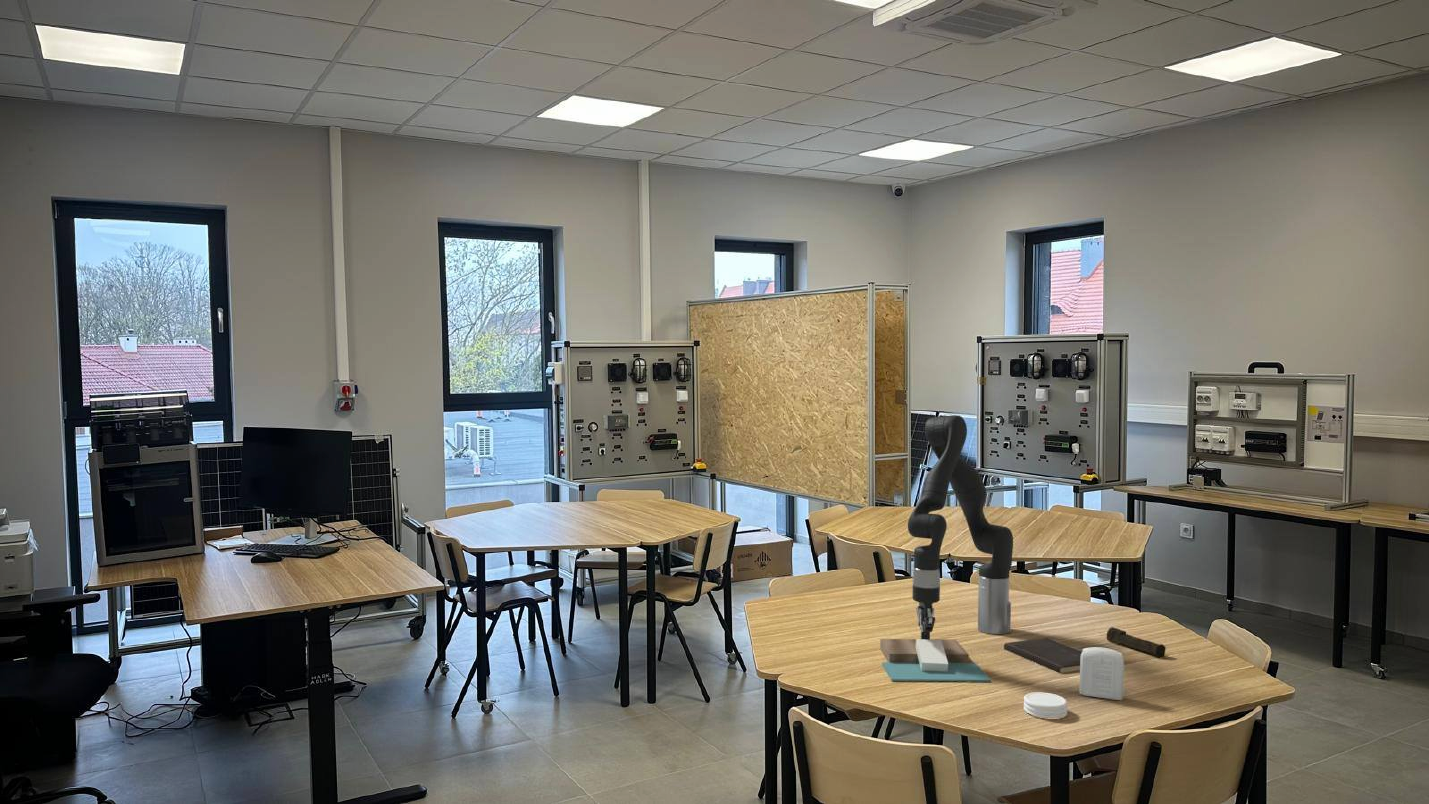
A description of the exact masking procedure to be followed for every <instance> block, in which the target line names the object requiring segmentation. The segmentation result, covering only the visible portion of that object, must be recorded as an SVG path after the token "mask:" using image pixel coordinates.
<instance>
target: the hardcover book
mask: <svg viewBox="0 0 1429 804" xmlns="http://www.w3.org/2000/svg"><path fill="white" fill-rule="evenodd" d="M1003 650H1005V651H1007V652H1010V653H1012V654H1013V655H1017V656H1019V657H1020V658H1022V659H1023V658H1024V659H1025V660H1028V661H1030V662H1032V661H1033V663H1035V662H1036V663H1035V664H1037V665H1039V666H1042V667H1044V668H1047V669H1048V670H1051V671H1053V670H1054V671H1053V672H1055V671H1056V673H1057V674H1058V673H1059V674H1062V673H1068V672H1075V671H1080V658H1081V653H1082V652H1083V650H1079V649H1077V648H1074V647H1072V646H1069V645H1067V644H1065V643H1061V642H1059V641H1056V640H1054V639H1052V638H1048V637H1043V638H1036V639H1027V640H1019V641H1012V642H1011V641H1010V642H1005V643H1004V645H1003Z"/></svg>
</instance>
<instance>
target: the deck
mask: <svg viewBox="0 0 1429 804" xmlns="http://www.w3.org/2000/svg"><path fill="white" fill-rule="evenodd" d="M916 639H917V638H915V639H914V638H880V639H879V641H880V642H879V643H880V649H879V650H880V651H881V653H882V652H883V653H882V654H883V656H884V658H885V659H886V662H919V659H918V655H917V651H916ZM930 640H942V644H943V647H944V651H945V654H946V658H947V661H948V663H969V656H970V655H969V653H968V652H967V651H966V649H965V648H964V647H963V646H962V645H961V644H960V643H959V641H957V639H952V638H951V639H950V638H949V639H948V638H946V639H944V638H943V639H938V638H936V639H933V638H930Z"/></svg>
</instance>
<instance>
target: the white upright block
mask: <svg viewBox="0 0 1429 804" xmlns="http://www.w3.org/2000/svg"><path fill="white" fill-rule="evenodd" d="M1124 675H1125V661H1124V657H1123V653H1121V652H1120V651H1118V650H1114V649H1111V648H1107V647H1100V646H1094V647H1093V646H1091V647H1086V648H1082V653H1081V658H1080V670H1079V684H1078V685H1079V688H1078V693H1079V695H1081V694H1082V695H1081V696H1087V697H1093V698H1101V699H1107V700H1117V701H1123V699H1124Z"/></svg>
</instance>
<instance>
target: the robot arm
mask: <svg viewBox="0 0 1429 804" xmlns="http://www.w3.org/2000/svg"><path fill="white" fill-rule="evenodd" d="M924 432H925V437H926V440H927V442H928V444H929V445H930V447H931V449H932V451H933V453H934V454H935V456H936V458H937V461H936V462H935V464H934V465H933V466H932V467H931V469H929V471H928V473H927V474H926V476H925V478H924V481H923V485H922V490H921V493H920V497H919V500H918V501H917V504H916V505H915V507H914V509H913V511H912V512H911V514H910V516H909V518H908V521H907V530H908V533H909V534H910V536H912V538H913V537H914V538H919V539H920V538H921V539H928V540H929V539H930V540H931V541H930V544H927V545H920V546H919V545H918V546H917V547H915V548H914V551H913V572H912V593H911V594H912V595H911V596H912V598H911V599H912V600H913V602H916V603H918V605H917V606H916V614H917V620H918V621H917V622H918V627H919V631H920V639H925V640H930V639H931V633H932V632H933V631H934V627H935V623H936V617H935V616H934V615H935V608H933V604H935V603H936V604H937V603H939V602H940V597H941V595H940V594H941V590H940V589H941V572H940V557H941V556H940V555H941V548H942V545H943V540H944V539H945V538H944V537H945V535H946V531H947V526H948V524H947V520H946V518H945V517H944V516H943V515H942V514H938V513H932V512H937V511H940V510H943V508H944V507H945V505H946V501H947V495H948V491H949V487H950V486H951V489H952V491H953V493H954V496H955V497H956V500H957V501H958V503H959V506H960V508H961V510H962V512H963V516H964V518H965V520H966V523H967V526H968V529H969V532H970V535H971V539H972V542H973V544H974V547H975V548H976V549H977V550H978V551H979V552H981V553H984V554H988V555H992V557H991V561H990V562H989V563H984V564H981V565H980V566H979V567H978V591H977V592H978V593H977V595H978V597H977V598H978V600H977V601H978V602H977V630H978V631H979V632H981V633H986V634H991V635H1003V634H1008V633H1009V634H1010V633H1011V628H1012V627H1011V624H1012V623H1011V622H1012V621H1011V620H1012V619H1011V618H1012V615H1011V614H1012V603H1011V601H1010V572H1011V569H1012V565H1013V564H1012V563H1013V552H1014V551H1013V550H1014V536H1013V532H1012V531H1011V529H1010V528H1008V527H1006V526H1004V525H1003V526H1002V525H996V524H991V523H990V522H988V519H987V518H986V517H985V513H984V508H985V507H984V506H985V503H986V501H987V488H986V485H985V484H984V481H983V479H982V477H981V474H980V473H979V471H978V470H977V469H976V468H975V467H974V466H972V464H970V463H969V462H967V461H966V460H965V459H964V458H962V457H961V453H962V450H963V449H964V446H965V443H966V439H967V436H968V426H967V423H966V421H965V419H964V418H963V417H962V416H960V415H956V414H955V415H951V414H950V415H944V416H934V417H931V418H928V419H927V420H926V422H925V426H924Z"/></svg>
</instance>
